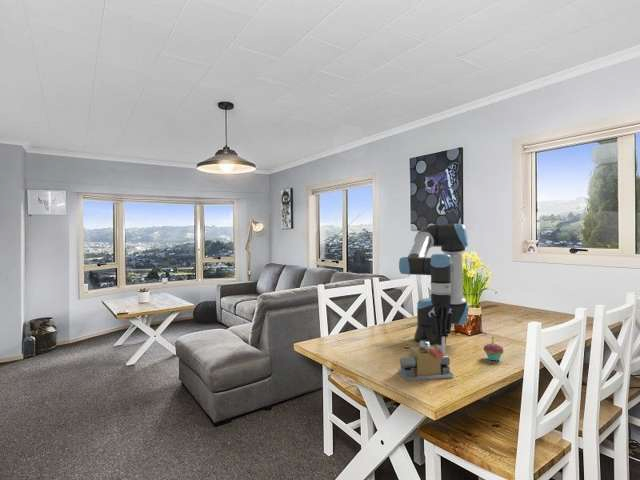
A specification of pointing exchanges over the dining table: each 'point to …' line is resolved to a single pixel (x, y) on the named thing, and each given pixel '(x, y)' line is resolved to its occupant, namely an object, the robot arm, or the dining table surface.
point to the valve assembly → (424, 366)
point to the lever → (431, 350)
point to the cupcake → (493, 351)
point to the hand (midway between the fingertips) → (441, 352)
